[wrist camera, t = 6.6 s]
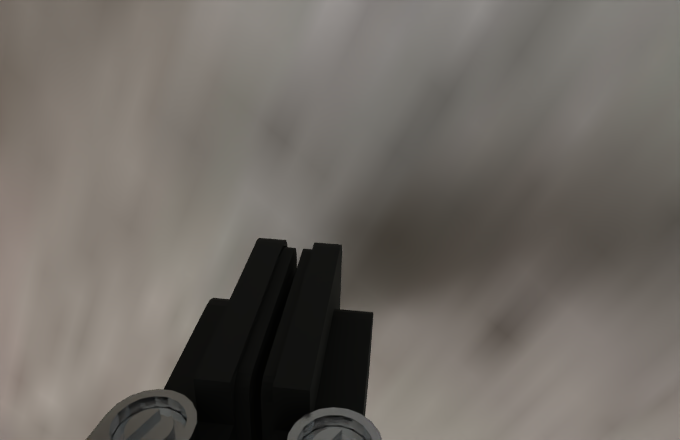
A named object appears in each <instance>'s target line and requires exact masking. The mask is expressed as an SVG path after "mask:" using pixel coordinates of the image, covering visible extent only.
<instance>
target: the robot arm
mask: <svg viewBox="0 0 680 440" xmlns="http://www.w3.org/2000/svg"><path fill="white" fill-rule="evenodd" d="M341 263H342V245H338V244H326V243H314V245H313V248H312V249H303V251H302V254H301V257H300V260H299V263H298V267H297V253H296V248H288V247H287V242H286V240H277V239H265V238H258V240H257V242H256V244H255V246H254V248H253V250H252V252H251V255H250V257H249V259H248V261H247V263H246V265H245V268H244V270H243V272H242V274H241V276H240V278H239V281H238V283H237V285H236V287H235V289H234V291H233V294H232V296H231V298H230V299H219V298H212V299H211V300H210V301H209V302H208V304H207V306H206V308H205V310H204V312H203V313H202V315H201V317H200V319H199V321H198V323H197V325H196V327H195V329H194V331H193V333H192V335H191V337H190V339H189V341H188V343H187V345H186V347H185V349H184V351H183V353H182V354H181V356H180V358H179V360H178V362H177V364H176V366H175V368H174V370H173V372H172V374H171V376H170V378H169V380H168V382H167V384H166V386H165V388H164V390H163V389H156V390H148V391H143V392H140V393H137V394H134V395H131V396H129V397H127V398H126V399H124V400H122V401H121V402H119V403H117V404H116V405H115V406H114V407H113V408H112V409H111V410H110V411H109V412H108V413H107V414H106V415H105V416H104V418H103V419H102V420H101V421H100V423H99V424H98V425H97V426H96V428H95V429H94V430H93V431H92V432H91V434H90V435H89V436H88V437H87V439H86V440H382V438H381V435H380V432H379V431H378V429H377V428H376V427H375V426H374V424H373V423H372V422H371V421H370V420H369V419H367V418H366V417H365V410H366V399H367V389H368V377H369V366H370V353H371V340H372V325H373V312H362V311H351V310H340V291H341Z"/></svg>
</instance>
